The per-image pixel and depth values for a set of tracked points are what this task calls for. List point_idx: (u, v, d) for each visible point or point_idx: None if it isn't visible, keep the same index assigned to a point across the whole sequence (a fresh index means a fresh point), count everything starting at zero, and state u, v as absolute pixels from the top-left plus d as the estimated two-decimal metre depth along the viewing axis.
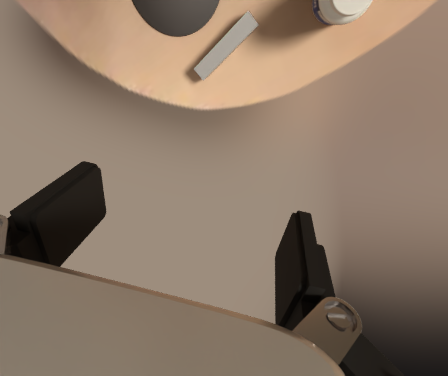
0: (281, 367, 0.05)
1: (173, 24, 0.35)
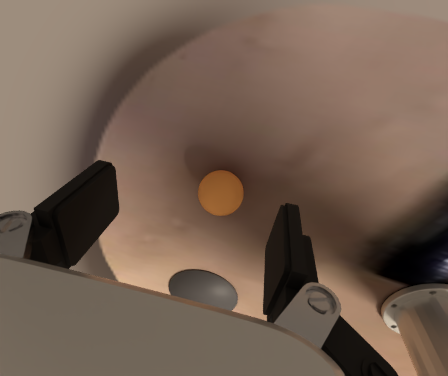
0: (281, 367, 0.05)
1: None
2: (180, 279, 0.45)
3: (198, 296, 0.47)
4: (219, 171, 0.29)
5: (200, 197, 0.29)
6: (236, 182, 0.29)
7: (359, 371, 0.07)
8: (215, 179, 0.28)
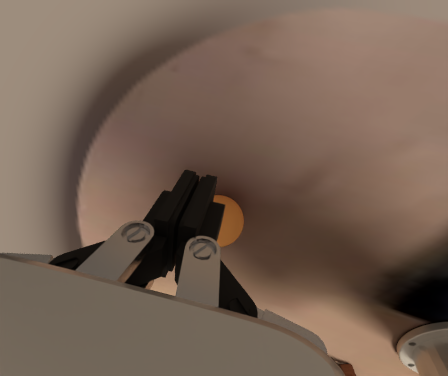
0: (281, 367, 0.05)
1: None
2: None
3: None
4: (216, 197, 0.26)
5: None
6: (235, 210, 0.25)
7: (221, 304, 0.07)
8: None
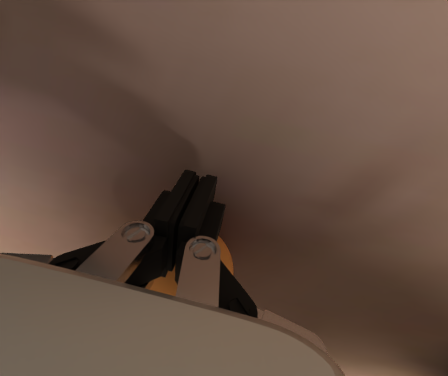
0: (281, 367, 0.05)
1: None
2: None
3: None
4: None
5: None
6: None
7: (221, 304, 0.07)
8: None
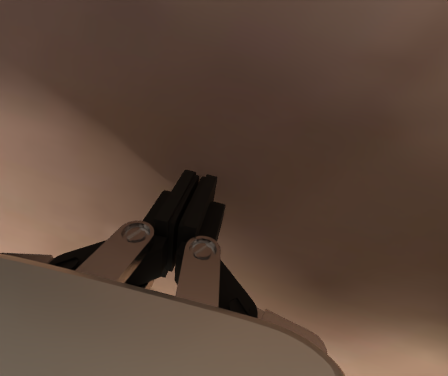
0: (281, 367, 0.05)
1: None
2: None
3: None
4: None
5: None
6: None
7: (221, 304, 0.07)
8: None
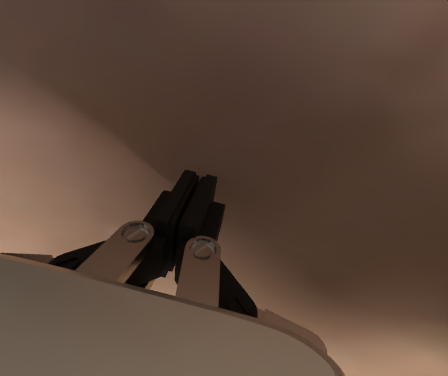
0: (281, 367, 0.05)
1: None
2: None
3: None
4: None
5: None
6: None
7: (221, 304, 0.07)
8: None
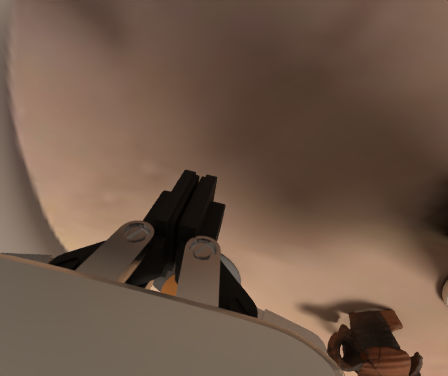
0: (281, 367, 0.05)
1: None
2: None
3: None
4: None
5: None
6: None
7: (221, 304, 0.07)
8: None
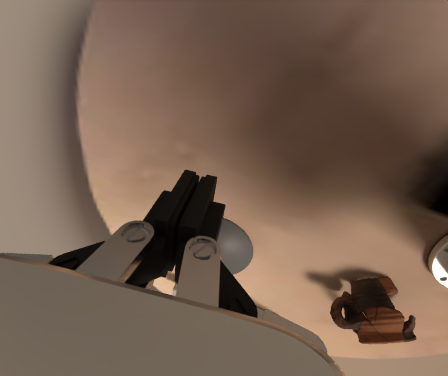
0: (281, 367, 0.05)
1: None
2: None
3: None
4: None
5: None
6: None
7: (221, 304, 0.07)
8: None
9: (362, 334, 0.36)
